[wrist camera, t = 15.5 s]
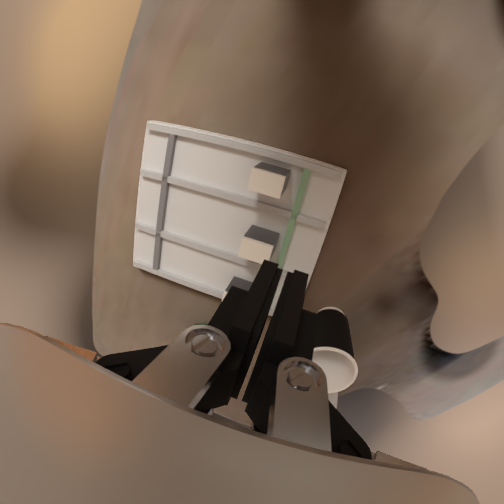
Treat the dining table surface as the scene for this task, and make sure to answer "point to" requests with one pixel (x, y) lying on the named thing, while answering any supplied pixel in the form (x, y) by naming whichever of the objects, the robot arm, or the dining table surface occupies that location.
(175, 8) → the dining table surface
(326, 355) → the dixie cup
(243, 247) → the block
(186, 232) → the board
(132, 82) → the dining table surface
